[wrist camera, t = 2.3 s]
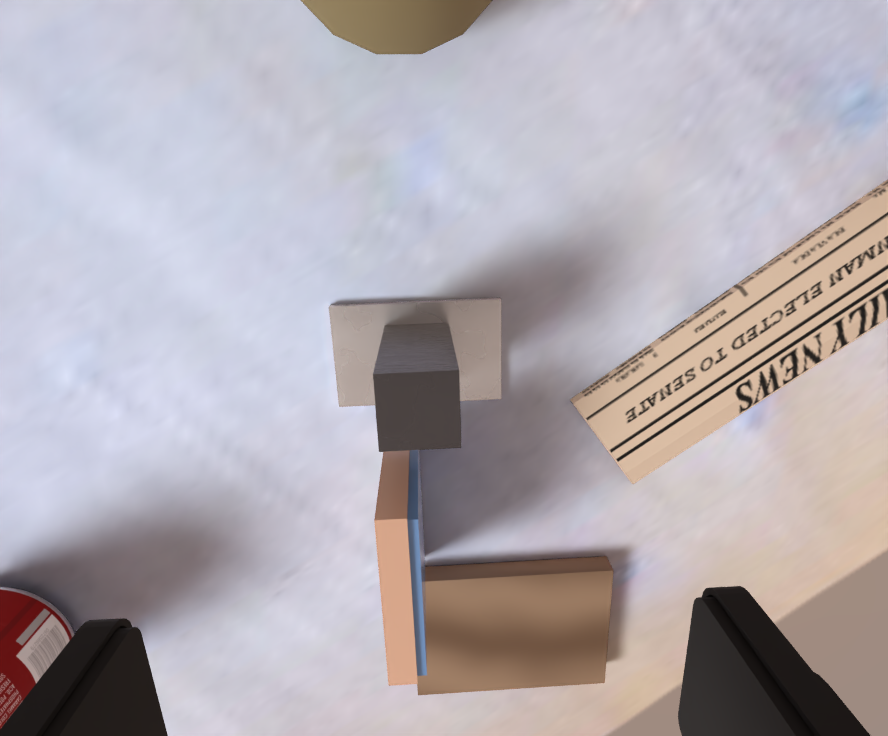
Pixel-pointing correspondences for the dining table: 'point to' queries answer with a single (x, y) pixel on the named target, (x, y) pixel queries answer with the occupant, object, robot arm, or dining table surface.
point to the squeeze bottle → (397, 22)
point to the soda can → (27, 644)
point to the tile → (402, 566)
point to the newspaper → (746, 341)
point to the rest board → (516, 624)
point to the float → (417, 365)
